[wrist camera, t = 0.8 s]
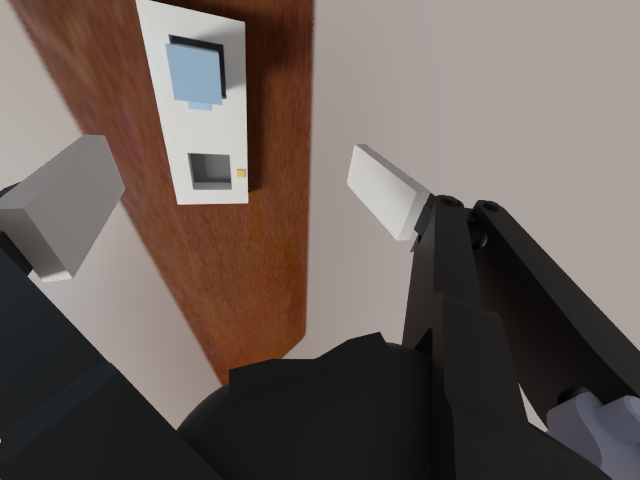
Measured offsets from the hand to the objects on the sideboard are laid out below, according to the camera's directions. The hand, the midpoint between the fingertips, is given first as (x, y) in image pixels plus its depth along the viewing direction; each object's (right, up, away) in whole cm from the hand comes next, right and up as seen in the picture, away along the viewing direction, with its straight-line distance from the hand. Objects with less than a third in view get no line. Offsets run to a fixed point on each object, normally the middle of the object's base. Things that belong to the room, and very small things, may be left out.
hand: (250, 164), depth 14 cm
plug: (-9, +14, +13) cm, 21 cm away
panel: (-10, +10, +16) cm, 22 cm away
